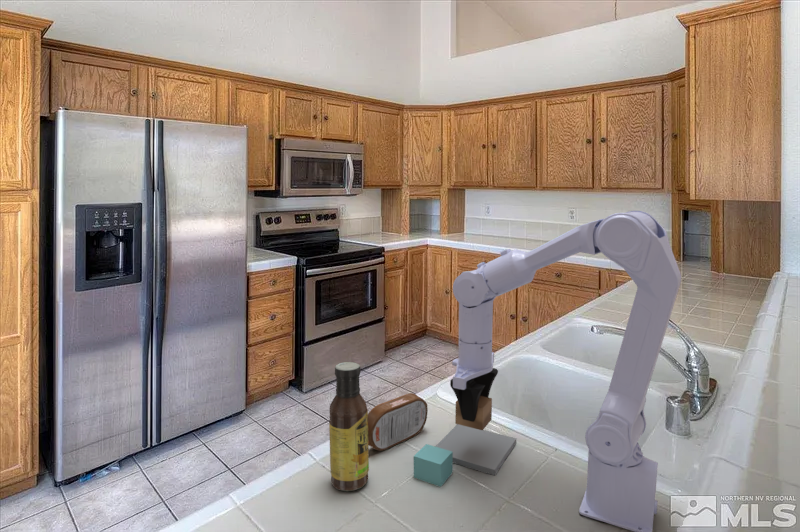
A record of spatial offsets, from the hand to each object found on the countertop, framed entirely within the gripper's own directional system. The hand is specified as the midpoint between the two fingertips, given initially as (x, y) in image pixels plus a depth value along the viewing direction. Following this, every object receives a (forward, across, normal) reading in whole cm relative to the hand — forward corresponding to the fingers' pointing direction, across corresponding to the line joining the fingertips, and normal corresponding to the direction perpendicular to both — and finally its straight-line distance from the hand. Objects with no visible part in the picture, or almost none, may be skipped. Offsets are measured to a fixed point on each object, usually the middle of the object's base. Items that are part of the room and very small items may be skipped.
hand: (474, 413), depth 83 cm
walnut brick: (+2, 0, 0) cm, 2 cm away
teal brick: (+9, +8, -4) cm, 12 cm away
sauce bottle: (+9, +16, -15) cm, 24 cm away
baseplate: (+8, -3, -1) cm, 9 cm away
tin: (+9, +2, -15) cm, 17 cm away
